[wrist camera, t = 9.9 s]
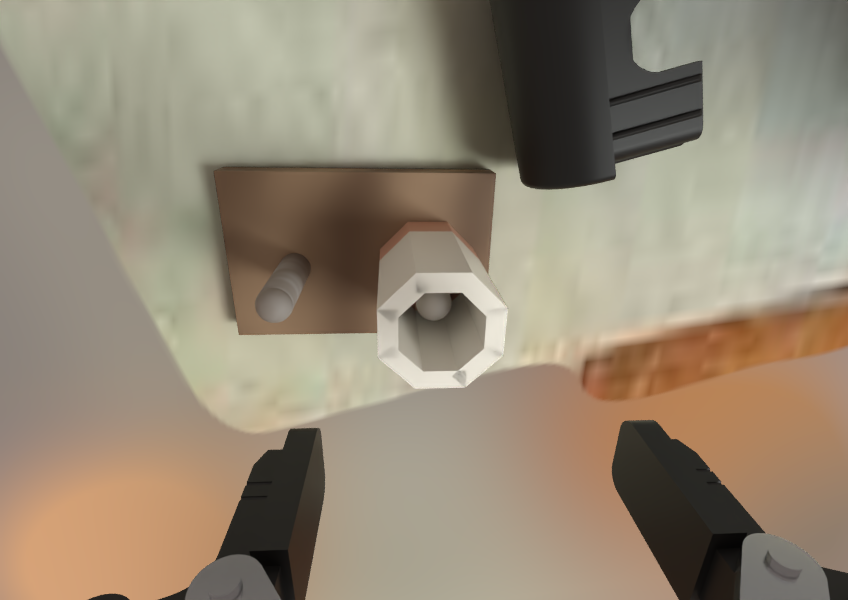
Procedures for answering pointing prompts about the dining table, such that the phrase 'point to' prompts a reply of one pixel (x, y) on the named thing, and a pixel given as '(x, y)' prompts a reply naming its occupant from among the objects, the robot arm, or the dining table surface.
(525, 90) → the end cap
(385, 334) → the sleeve
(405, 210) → the pin board
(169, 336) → the dining table surface
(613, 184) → the dining table surface
